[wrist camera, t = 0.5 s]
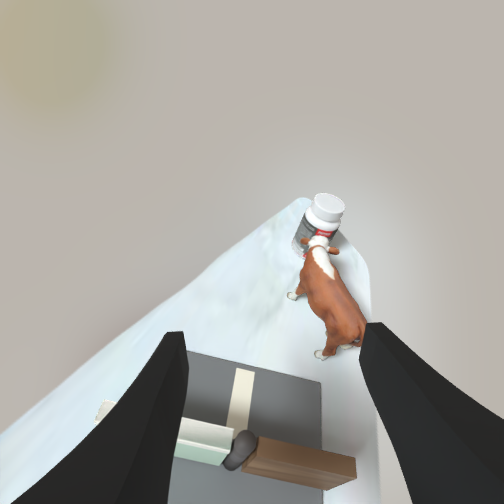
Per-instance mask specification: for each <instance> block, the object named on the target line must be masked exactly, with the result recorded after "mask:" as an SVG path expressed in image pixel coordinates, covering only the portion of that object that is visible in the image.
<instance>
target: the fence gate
mask: <svg viewBox="0 0 504 504" xmlns="http://www.w3.org/2000/svg"><path fill="white" fill-rule="evenodd" d="M116 403H117V402H113V401H109V400H103V402H102V405H101V407H100V409H99V411H98V413H97V415H96V418H95V420H94V424H95V425H98V424H99V423H100V422H101V420H102V419H103V418H104V417H105V416H106V415H107V414H108V413H109V412H110V410H111V409H112V408H113V407H114V406H115V404H116ZM233 431H234V429H233V428H228V427H224V426H219V425H215V424H210V423H206V422H202V421H197V420H193V419H188V418H184V417H182V419H181V424H180V429H179V434H178V438H177V443H176V448H175V452H174V456H175V457H180V458H184V459H189V460H193V461H198V462H203V463H207V464H212V465H216V466H220V464H221V463H222V461H223V460H224V459H225V457H226V456H227V454H229V453H230V449H231V443H232V437H233Z"/></svg>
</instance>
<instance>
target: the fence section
mask: <svg viewBox="0 0 504 504" xmlns="http://www.w3.org/2000/svg"><path fill="white" fill-rule="evenodd" d="M241 464H242V469H241V472H244V473H249V474H253V475H258V476H262V477H267V478H271V479H276V480H281V481H285V482H290V483H294V484H299V485H303V486H308V487H313V488H317V489H322V490H326V491H327V490H330V489H332V488H334V487H337V486H339V485H342V484H344V483H347V482H349V481H352V480H354V479H356V478H357V474H356V462H355V458H354V457H349V456H345V455H340V454H336V453H331V452H327V451H323V450H318V449H314V448H309V447H305V446H300V445H296V444H292V443H287V442H283V441H278V440H274V439H269V438H265V437H261V436H259V437H258V438H257V439H256V437H255V435H254V434H253V433H252V432H251V431H249V430H242V431H240V432H239V433H238V435H237V436H236V438H235V439H234V441H233V442H232V444H231V449H230V453H229V454H227V456H226V457H225V459H224V460H223V465H224V467H225V469H227V470H228V471H234V470H236V469H237V468H238V467H239V466H240V465H241Z"/></svg>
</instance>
